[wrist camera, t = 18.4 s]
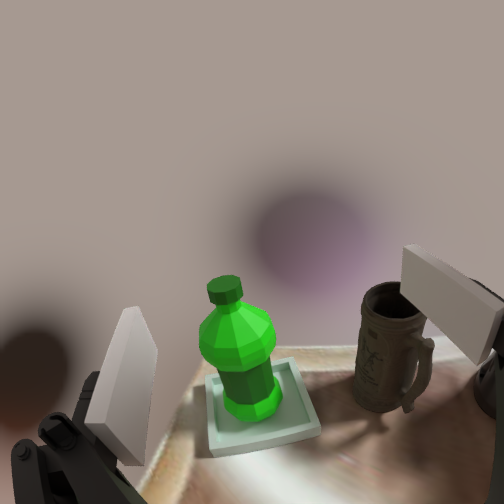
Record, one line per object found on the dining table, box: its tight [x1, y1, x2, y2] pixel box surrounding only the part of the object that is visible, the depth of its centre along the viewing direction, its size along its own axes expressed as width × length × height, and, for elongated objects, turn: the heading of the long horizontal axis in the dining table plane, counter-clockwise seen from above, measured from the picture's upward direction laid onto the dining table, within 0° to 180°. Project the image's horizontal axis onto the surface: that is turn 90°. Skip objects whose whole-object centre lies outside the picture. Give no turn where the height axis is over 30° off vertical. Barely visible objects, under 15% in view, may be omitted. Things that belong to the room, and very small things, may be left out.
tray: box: [205, 356, 321, 458], centre depth 45 cm, size 17×17×3 cm
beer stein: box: [353, 282, 435, 413], centre depth 38 cm, size 15×11×20 cm
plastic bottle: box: [199, 275, 283, 422], centre depth 40 cm, size 10×10×25 cm
